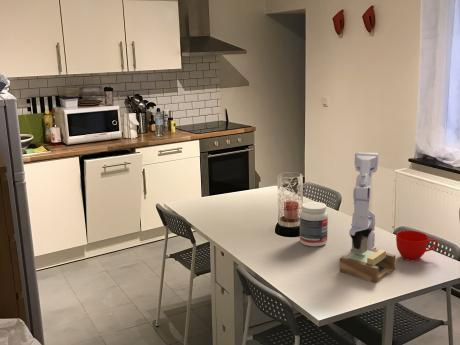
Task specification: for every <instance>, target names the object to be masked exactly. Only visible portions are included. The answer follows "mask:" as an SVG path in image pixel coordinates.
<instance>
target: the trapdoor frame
mask: <svg viewBox="0 0 460 345" xmlns="http://www.w3.org/2000/svg"><path fill="white" fill-rule="evenodd" d="M367 250H369V251H373V252H377V251H379V249H371V248H367ZM379 268H383V269H382V270H381V271H379ZM395 269H396V255H395V254H393V253H389V252H386V258H384V259H383V260H381V261H380V262H378V263H377V264H375V265H370V264H367V263H364V262H360V261H357V260H353V259H350V258H347V257H345V256H341V257H339V272H340V273H343V274H346V275H350V276H353V277H356V278H358V279H363V280H366V281H369V282H372V283H375V284H376V283H378V282H379V281H380V280H381V279H383V278H385V277H386V276H387V275H388V274H390V273H391V272H392V271H394V270H395Z"/></svg>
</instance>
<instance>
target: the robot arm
mask: <svg viewBox="0 0 460 345" xmlns="http://www.w3.org/2000/svg"><path fill="white" fill-rule="evenodd" d="M378 165H379V154H378V152H358V151H356V152H355V154H354V169H355V171H356V172H359V174H358V175H357V177H356V182H355V186H354V187H353V194H352V195H353V197H352V198H353V213H352V219H351V224H350V226H351V228H350V229H349V231H348V232H349V233H348V234H349V236H350V238H351V241H352V240H353V244H354V248H356V249H360V245H361V240H362V237H363V236H365V237H367V248H371V249H374V250H376V249H377V246H375V242H376V241H375V240H376V239H375V238H376V234H375V228H376V215H375V212H374V211H372V210H370V202H371V196H372V195H371V194H372V192H371V181H372V175H373V173H376V172H377V171H378ZM350 250H351V251H352V247H350Z"/></svg>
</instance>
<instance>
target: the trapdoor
mask: <svg viewBox="0 0 460 345" xmlns="http://www.w3.org/2000/svg"><path fill="white" fill-rule="evenodd" d="M386 253H387V252H386V250H384V249H378V251H377V252H373V251H369V250H367V251H366V252H364V253H362V254H359V253H356V252H353V253H352V254H350V255H348V256H347V257H346V258H350V259H353V260H357V261H360V262H364V263H367V264H370V265H374V266H376V265H375V264H377V263H378V262H380V261H381V260H383V259H384V258H386Z"/></svg>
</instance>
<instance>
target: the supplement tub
mask: <svg viewBox="0 0 460 345" xmlns="http://www.w3.org/2000/svg"><path fill="white" fill-rule="evenodd" d="M328 221H329V214H328V212H327V205H326V204H325V203H324V202H319V201H308V202H304V203H302V204H301V211H300V212H299V241H300V243H301V244H302V245H305V246H308V247H322V246H324V245H325V244H327V242H328V227H329V226H328V225H329V222H328Z"/></svg>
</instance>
